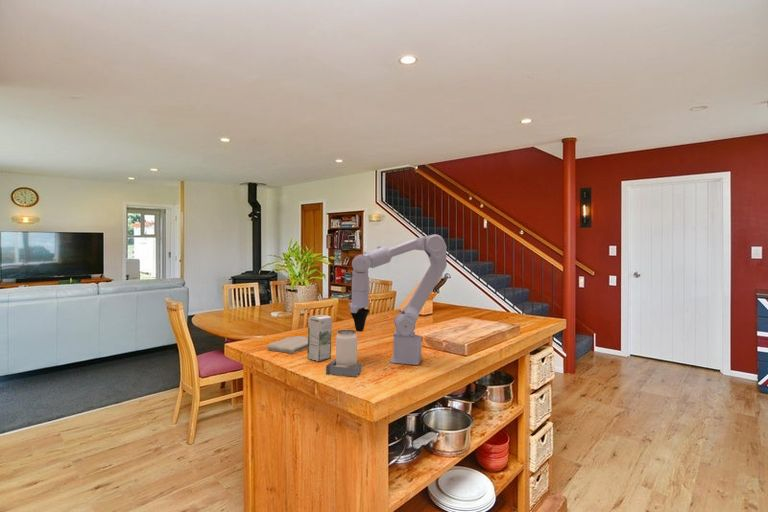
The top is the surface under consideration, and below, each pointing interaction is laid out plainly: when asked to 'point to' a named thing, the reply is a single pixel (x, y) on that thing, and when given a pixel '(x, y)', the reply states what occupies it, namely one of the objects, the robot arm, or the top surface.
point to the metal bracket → (343, 369)
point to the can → (346, 348)
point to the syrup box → (319, 337)
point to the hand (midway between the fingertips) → (359, 331)
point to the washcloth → (289, 344)
